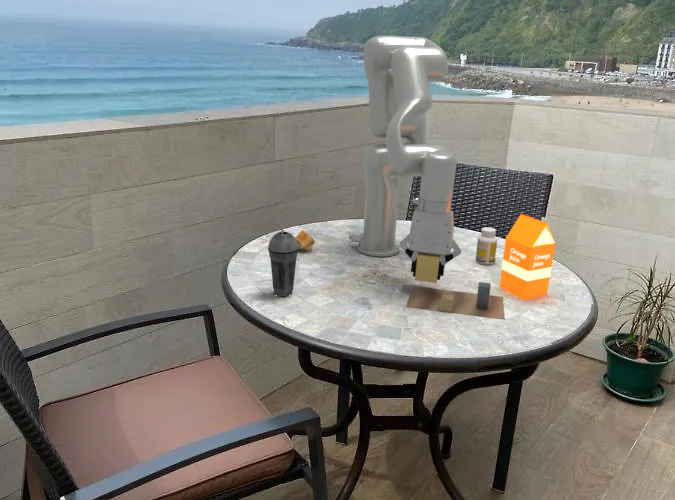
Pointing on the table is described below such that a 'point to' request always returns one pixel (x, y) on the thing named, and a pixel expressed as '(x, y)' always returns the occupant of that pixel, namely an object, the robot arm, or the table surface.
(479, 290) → the post
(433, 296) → the board
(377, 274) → the set of tan pieces
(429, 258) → the tan rectangular block
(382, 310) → the table surface
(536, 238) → the orange juice
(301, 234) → the pyrite
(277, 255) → the beverage cup
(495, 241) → the supplement bottle
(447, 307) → the wooden stub
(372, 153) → the robot arm
